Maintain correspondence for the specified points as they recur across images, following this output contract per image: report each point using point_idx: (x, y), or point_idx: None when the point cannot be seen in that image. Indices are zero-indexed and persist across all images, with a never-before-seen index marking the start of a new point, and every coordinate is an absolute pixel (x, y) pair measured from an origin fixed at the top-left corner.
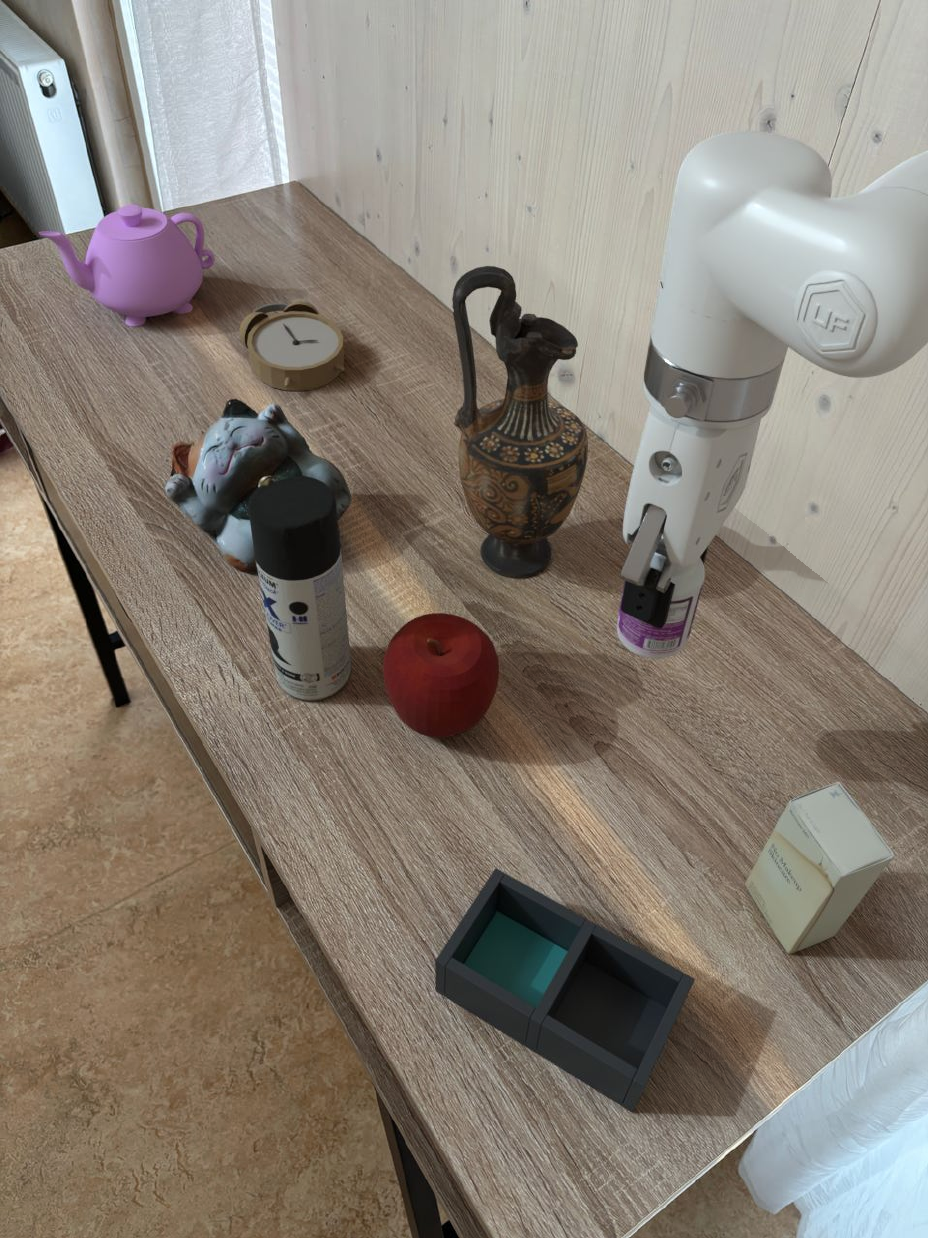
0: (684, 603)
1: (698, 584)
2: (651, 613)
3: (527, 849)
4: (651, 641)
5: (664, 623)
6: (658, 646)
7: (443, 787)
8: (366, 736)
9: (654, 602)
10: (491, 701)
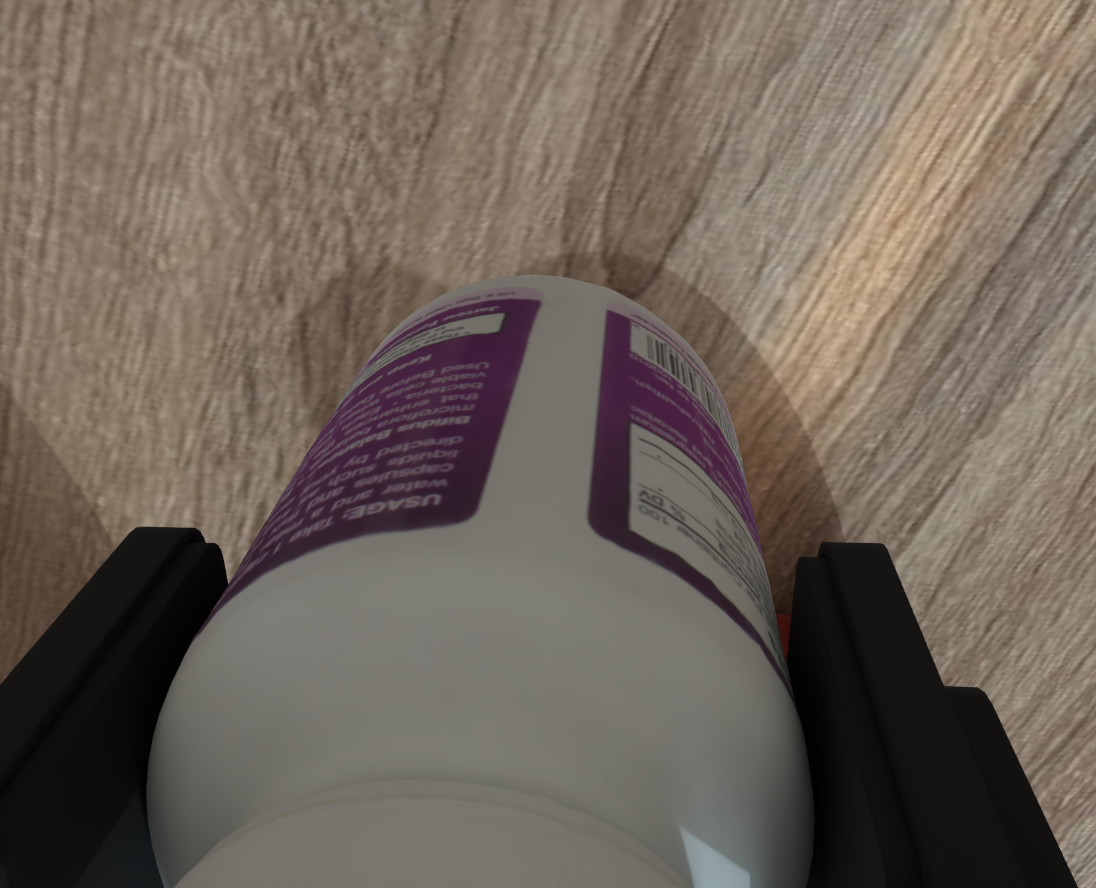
0: (670, 542)
1: (513, 581)
2: (993, 732)
3: (1076, 292)
4: (743, 473)
5: (866, 555)
6: (721, 416)
7: (979, 568)
8: None
9: (1013, 824)
10: (783, 646)
